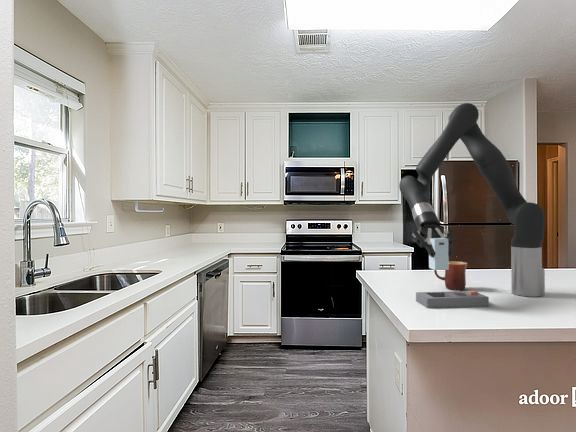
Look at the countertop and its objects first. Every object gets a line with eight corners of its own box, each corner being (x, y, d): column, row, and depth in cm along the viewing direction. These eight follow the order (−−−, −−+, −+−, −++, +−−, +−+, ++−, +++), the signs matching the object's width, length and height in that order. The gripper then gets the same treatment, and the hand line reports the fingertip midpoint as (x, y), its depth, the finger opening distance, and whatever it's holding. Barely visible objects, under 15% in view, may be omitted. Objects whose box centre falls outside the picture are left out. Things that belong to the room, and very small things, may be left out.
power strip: (473, 299, 124) (472, 288, 124) (488, 306, 115) (488, 294, 115) (416, 301, 123) (415, 289, 123) (427, 308, 114) (427, 296, 114)
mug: (466, 287, 143) (466, 261, 143) (468, 292, 135) (468, 264, 135) (434, 285, 147) (433, 260, 147) (434, 290, 139) (434, 263, 139)
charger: (442, 267, 121) (441, 237, 121) (448, 269, 116) (448, 238, 116) (429, 267, 121) (428, 238, 120) (435, 270, 116) (434, 239, 116)
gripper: (408, 210, 125) (423, 248, 113) (448, 210, 126) (467, 247, 114) (402, 225, 131) (416, 263, 119) (441, 224, 131) (458, 262, 119)
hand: (441, 255), depth 116 cm, fingers closed on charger, 4 cm apart
